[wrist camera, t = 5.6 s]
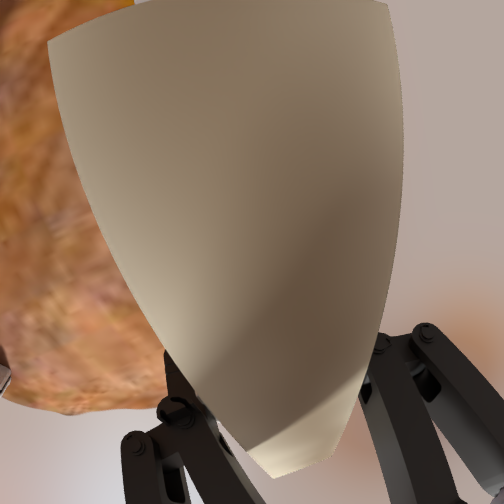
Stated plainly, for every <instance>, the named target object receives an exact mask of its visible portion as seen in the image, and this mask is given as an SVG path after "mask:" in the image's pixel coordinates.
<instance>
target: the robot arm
mask: <svg viewBox="0 0 504 504" xmlns="http://www.w3.org/2000/svg"><path fill="white" fill-rule="evenodd" d="M164 364H165V373H166V382H167V389H168V396H167V397H165V398H163V399H162V400H161V402H160V403H159V404H158V407H157V411H156V413H157V418H158V419H159V420H160V421H161V422H163V423H162V424H160V425H159V426H157V427H155V428H153V429H152V430H150V431H148V432H146V433H144V432H142V431H132V432H129V433H128V434H127V435H125V436H124V438H123V440H122V441H121V463H122V475H123V485H124V494H125V501H126V504H191V500H190V496H189V491H188V487H187V482H186V477H185V472H184V467H183V466H185V467H186V469H187V471H188V473H189V475H190V477H191V479H192V481H193V483H194V485H195V487H196V489H197V491H198V493H199V495H200V496H201V498H202V500H203V502H204V504H266V503H265V501H264V500H263V499H262V497H261V496H260V494H259V493H258V492H257V490H256V488H255V487H254V486H253V484H252V483H251V481H250V479H249V478H248V477H247V475H246V473H245V472H244V470H243V469H242V467H241V465H240V464H239V462H238V461H237V460H236V457H235V456H234V454H233V453H232V451H231V450H230V447H229V446H228V444H227V442H226V440H225V439H224V437H223V435H222V434H221V433H220V432H219V429H218V426H217V422H218V423H219V424H221V423H220V421H219V420H218V419H217V418H216V417H215V415H214V414H213V413H212V412H211V411H210V409H209V408H208V407H207V406H206V404H205V403H204V402H203V400H202V399H201V398H200V397H199V395H198V394H197V393H196V391H195V390H194V389H193V387H192V386H191V385H190V383H189V382H188V381H187V379H186V378H185V376H184V375H183V374H182V372H181V371H180V369H179V368H178V366H177V365H176V364H175V362H174V361H173V359H172V358H171V356H170V355H169V353H168V352H167V350H166V349H165V352H164ZM358 398H359V401H360V404H361V407H362V409H363V412H364V415H365V418H366V421H367V424H368V428H369V431H370V433H371V437H372V440H373V443H374V446H375V450H376V453H377V456H378V459H379V462H380V466H381V470H382V473H383V476H384V480H385V483H386V487H387V491H388V494H389V498H390V502H391V504H467V502H465V501H463V500H461V499H460V498H459V496H458V493H457V490H456V486H455V483H454V480H453V477H452V474H451V471H450V468H449V465H448V462H447V459H446V456H445V454H444V451H443V448H442V445H441V443H440V440H439V438H438V435H437V432H436V430H435V427H434V425H433V423H432V420H433V421H434V423H435V424H436V425H437V427H438V428H439V429H440V431H441V432H442V433H443V435H444V436H445V437H446V439H447V440H448V441H449V443H450V444H451V445H452V447H453V448H454V449H455V451H456V452H457V454H458V455H459V456H460V458H461V459H462V461H463V462H464V463H465V465H466V466H467V468H468V469H469V470H470V472H471V473H472V475H473V476H474V478H475V479H476V480H477V482H478V483H479V484H480V486H481V487H482V488H483V489H484V490H485V491H486V492H487V493H488V494H490V495H491V496H493V497H495V498H494V499H493V500H492V502H491V504H504V400H503V398H502V397H501V396H500V395H499V394H498V392H497V391H496V390H495V389H494V388H493V387H492V386H491V384H490V383H489V382H488V381H487V380H486V378H485V377H484V376H483V375H482V374H481V373H480V372H479V371H478V369H477V368H476V367H475V366H474V365H473V364H472V363H471V362H470V361H469V360H468V359H467V357H466V356H465V355H464V354H463V353H462V352H461V351H459V349H458V348H457V347H456V346H455V345H454V344H453V343H452V342H451V341H450V340H449V339H448V338H447V337H446V336H445V335H444V334H443V333H442V332H441V331H440V330H439V329H438V328H437V327H436V326H434V325H433V324H430V323H420V324H418V325H416V327H415V328H414V329H413V331H412V333H410V334H405V335H400V336H393V337H391V336H388V335H387V334H384V333H379V332H378V335H377V338H376V342H375V345H374V349H373V352H372V355H371V359H370V362H369V365H368V368H367V371H366V374H365V377H364V380H363V383H362V386H361V388H360V391H359V394H358ZM430 417H431V418H430ZM431 419H432V420H431ZM216 421H217V422H216Z"/></svg>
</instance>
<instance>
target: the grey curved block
mask: <svg viewBox="0 0 504 504" xmlns="http://www.w3.org/2000/svg"><path fill="white" fill-rule="evenodd" d="M10 375H11V370H10V369H9V368H7V367H5V366H3V365H1V364H0V398H1V397H2V395H3V393H4V391H5V389H6V388H7V386H8V384H10V382H11V377H10Z"/></svg>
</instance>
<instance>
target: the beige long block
mask: <svg viewBox="0 0 504 504" xmlns="http://www.w3.org/2000/svg"><path fill="white" fill-rule="evenodd" d="M47 43H48V51H49V59H50V66H51V72H52V78H53V83H54V88H55V93H56V98H57V102H58V107H59V111H60V115H61V119H62V123H63V127H64V130H65V134H66V137H67V141H68V144H69V147H70V151H71V154H72V157H73V160H74V163H75V166H76V169H77V172H78V175H79V178H80V180H81V183H82V186H83V189H84V191H85V194H86V196H87V199H88V201H89V204H90V206H91V209H92V211H93V214H94V216H95V219H96V221H97V223H98V226H99V228H100V230H101V232H102V235H103V237H104V239H105V241H106V243H107V245H108V248H109V250H110V252H111V254H112V256H113V258H114V260H115V262H116V264H117V266H118V268H119V270H120V272H121V274H122V276H123V278H124V279H125V281H126V283H127V285H128V287H129V289H130V291H131V292H132V294H133V296H134V298H135V300H136V301H137V303H138V305H139V307H140V308H141V310H142V312H143V314H144V315H145V317H146V319H147V320H148V322H149V324H150V325H151V327H152V328H153V330H154V332H155V333H156V335H157V336H158V338H159V340H160V341H161V343H162V344H163V346H164V347H165V349H166V350H167V352H168V353H169V355H170V356H171V358H172V359H173V361H174V362H175V364H176V365H177V366H178V368H179V369H180V371H181V372H182V374H183V375H184V376H185V378H186V379H187V381H188V382H189V383H190V385H191V386H192V387H193V389H194V390H195V391H196V393H197V394H198V395H199V397H200V398H201V399H202V400H203V402H204V403H205V404H206V406H207V407H208V408H209V409H210V411H211V412H212V413H213V414H214V415H215V417H216V418H217V419H218V420H219V421H220V423H221V424H222V425H223V426H224V427H225V428H226V430H227V431H228V432H229V433H230V434H231V435H232V437H234V439H235V440H236V441H237V442H238V443H239V444H240V445H241V446H242V448H243V449H244V450H245V451H246V452H247V453H248V454H249V455H250V456H251V457H252V458H253V459H254V460H255V461H256V462H257V463H258V464H259V465H260V466H261V467H262V468H263V469H264V470H265V471H266V472H267V473H268V474H269V475H270V476H271V477H272V478H273V479H274V478H277V477H280V476H283V475H286V474H289V473H292V472H295V471H297V470H300V469H302V468H305V467H308V466H310V465H313V464H315V463H317V462H320V461H322V460H324V459H327V458H329V457H331V456H332V454H333V453H334V450H335V448H336V446H337V444H338V442H339V440H340V438H341V435H342V433H343V431H344V429H345V426H346V424H347V422H348V419H349V417H350V414H351V412H352V410H353V407H354V404H355V402H356V399H357V397H358V394H359V391H360V388H361V386H362V383H363V380H364V377H365V374H366V371H367V368H368V365H369V362H370V359H371V355H372V352H373V349H374V345H375V342H376V338H377V335H378V331H379V327H380V323H381V319H382V315H383V311H384V307H385V303H386V298H387V294H388V289H389V284H390V278H391V273H392V268H393V262H394V256H395V249H396V243H397V235H398V227H399V218H400V208H401V196H402V180H403V153H404V150H403V149H404V142H403V141H404V140H403V139H404V138H403V137H404V136H403V106H402V92H401V82H400V72H399V64H398V56H397V50H396V44H395V38H394V33H393V27H392V23H391V18H390V14H389V9H388V6H387V4H384V3H381V2H377V1H374V0H150V1H146V2H143V3H139V4H136V5H132V6H129V7H126V8H123V9H120V10H117V11H114V12H111V13H108V14H106V15H103V16H101V17H98V18H96V19H93V20H91V21H88V22H86V23H84V24H81V25H79V26H77V27H75V28H73V29H71V30H69V31H67V32H65V33H63V34H61V35H59V36H57V37H55V38H53V39H51V40H49V41H48V42H47Z"/></svg>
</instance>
